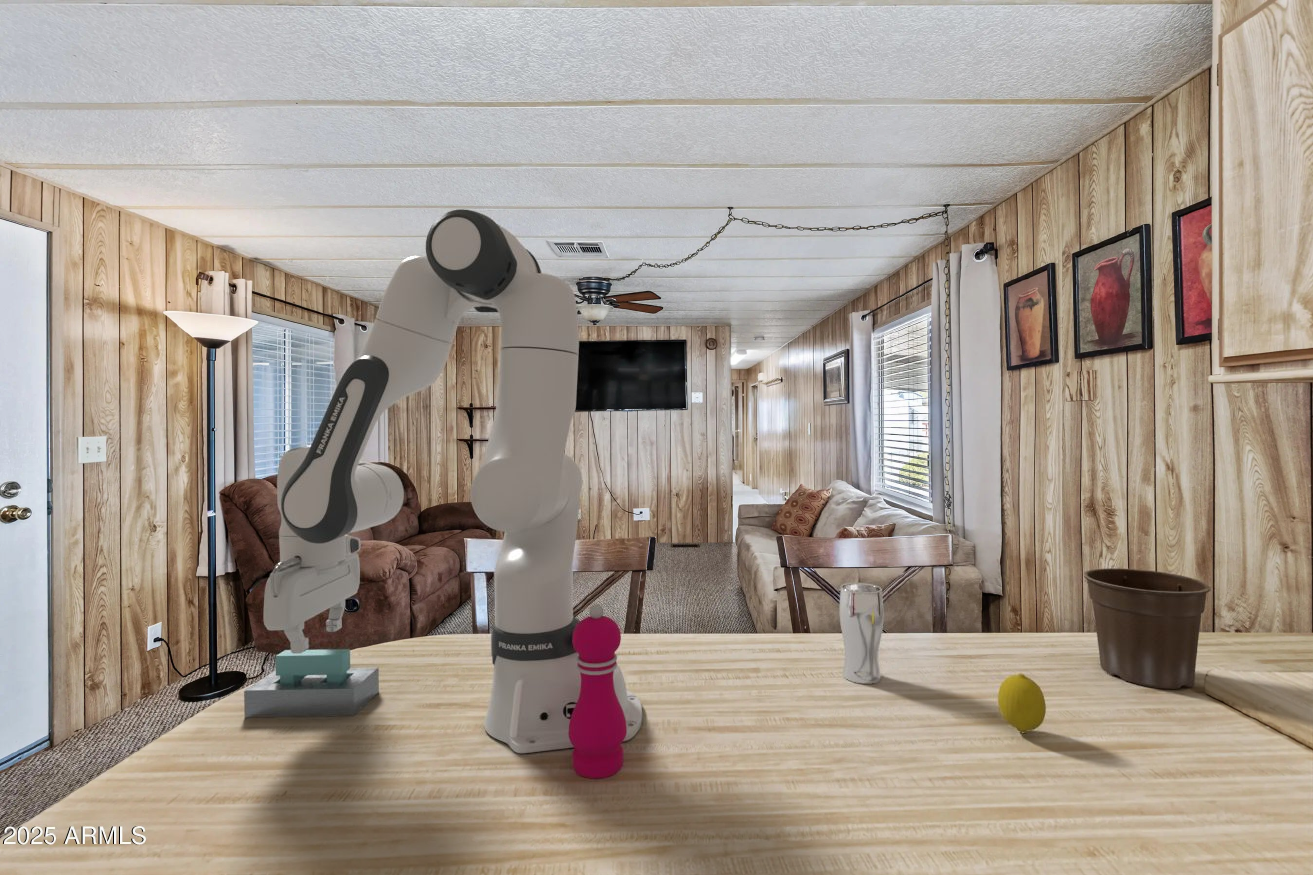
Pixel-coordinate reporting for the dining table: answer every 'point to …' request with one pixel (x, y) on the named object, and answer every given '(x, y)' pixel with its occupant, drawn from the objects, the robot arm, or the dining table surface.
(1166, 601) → the plant pot
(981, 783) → the dining table surface
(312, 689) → the slotted base block
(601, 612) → the pepper mill
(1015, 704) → the lemon
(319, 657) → the teal arch block
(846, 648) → the beer glass
